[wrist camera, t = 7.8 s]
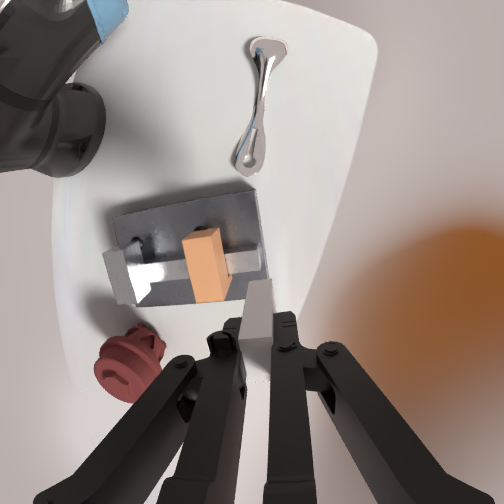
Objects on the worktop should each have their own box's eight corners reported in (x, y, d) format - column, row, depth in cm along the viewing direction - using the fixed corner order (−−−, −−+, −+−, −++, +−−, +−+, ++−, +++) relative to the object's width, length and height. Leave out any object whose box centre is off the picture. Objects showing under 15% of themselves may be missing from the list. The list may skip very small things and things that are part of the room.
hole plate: (123, 214, 36) (112, 218, 33) (255, 189, 34) (254, 191, 31) (144, 298, 39) (136, 307, 36) (270, 286, 37) (269, 296, 34)
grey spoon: (265, 179, 30) (223, 172, 30) (266, 180, 33) (228, 174, 33) (291, 30, 25) (253, 25, 25) (289, 42, 29) (255, 38, 29)
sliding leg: (197, 228, 32) (181, 240, 26) (222, 224, 32) (210, 236, 26) (208, 281, 34) (196, 303, 28) (232, 278, 34) (224, 300, 28)
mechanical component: (140, 366, 44) (112, 319, 41) (186, 358, 42) (158, 307, 40) (111, 412, 32) (73, 360, 29) (162, 412, 30) (122, 354, 28)
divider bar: (120, 241, 34) (95, 254, 28) (254, 220, 32) (249, 231, 26) (132, 286, 36) (111, 304, 30) (262, 272, 33) (259, 293, 28)
